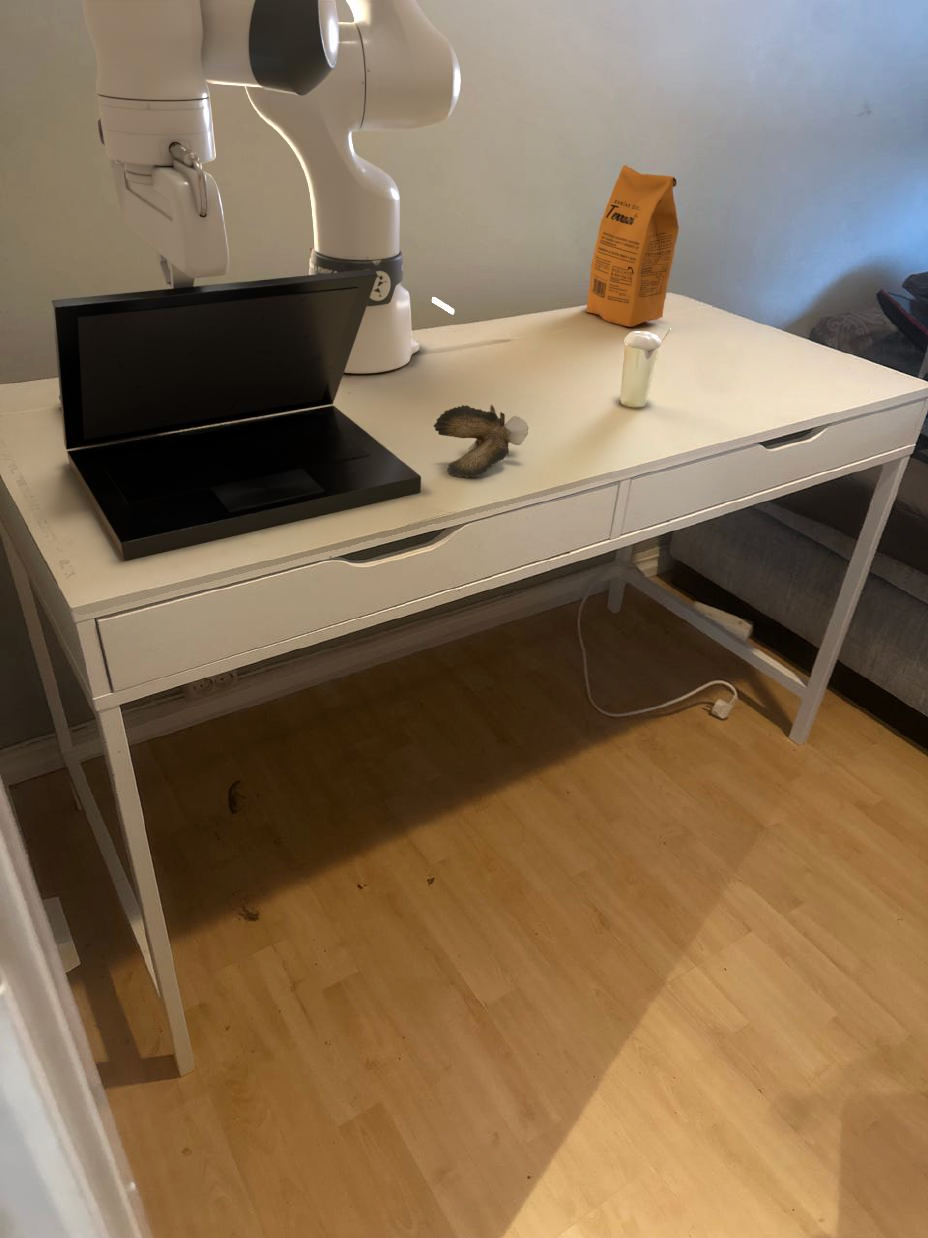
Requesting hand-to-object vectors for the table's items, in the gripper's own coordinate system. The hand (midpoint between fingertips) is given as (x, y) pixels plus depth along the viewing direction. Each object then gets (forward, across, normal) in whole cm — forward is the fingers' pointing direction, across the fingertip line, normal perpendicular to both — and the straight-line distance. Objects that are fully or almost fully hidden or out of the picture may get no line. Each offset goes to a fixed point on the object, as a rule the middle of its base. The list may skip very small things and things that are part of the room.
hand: (181, 303), depth 82 cm
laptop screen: (+7, +2, -3) cm, 8 cm away
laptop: (+18, -2, -4) cm, 18 cm away
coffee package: (+18, +28, -80) cm, 86 cm away
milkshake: (+18, -3, -56) cm, 59 cm away
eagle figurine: (+18, -9, -28) cm, 35 cm away
